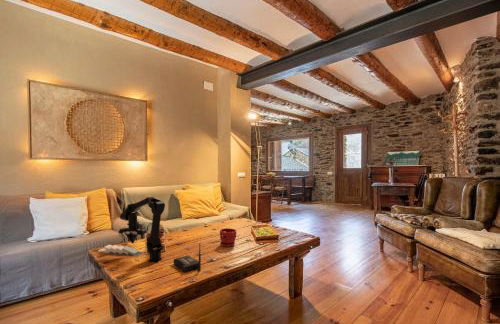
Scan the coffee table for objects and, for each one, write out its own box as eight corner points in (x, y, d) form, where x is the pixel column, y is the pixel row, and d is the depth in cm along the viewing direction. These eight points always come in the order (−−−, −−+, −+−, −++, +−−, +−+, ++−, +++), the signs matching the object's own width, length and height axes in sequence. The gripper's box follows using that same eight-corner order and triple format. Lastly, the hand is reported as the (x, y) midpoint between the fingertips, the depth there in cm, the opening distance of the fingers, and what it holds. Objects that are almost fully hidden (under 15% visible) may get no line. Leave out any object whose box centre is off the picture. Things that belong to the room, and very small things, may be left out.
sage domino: (138, 250, 180) (127, 246, 182) (134, 253, 175) (122, 248, 177) (138, 252, 180) (126, 247, 182) (133, 255, 175) (121, 250, 177)
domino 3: (132, 250, 181) (121, 245, 183) (128, 252, 176) (116, 247, 178) (132, 252, 181) (120, 247, 183) (127, 254, 176) (115, 249, 178)
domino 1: (120, 249, 183) (109, 244, 185) (115, 251, 178) (104, 246, 180) (120, 251, 183) (109, 246, 185) (115, 253, 178) (103, 248, 180)
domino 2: (126, 249, 182) (115, 244, 184) (121, 252, 177) (110, 247, 179) (126, 251, 182) (114, 246, 184) (121, 254, 177) (109, 248, 179)
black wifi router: (171, 265, 160) (171, 238, 160) (190, 260, 169) (191, 234, 169) (185, 276, 145) (185, 247, 145) (206, 270, 154) (206, 242, 154)
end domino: (114, 248, 184) (103, 248, 187) (109, 250, 179) (97, 250, 182) (114, 250, 184) (103, 250, 186) (109, 252, 179) (97, 252, 182)
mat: (144, 253, 181) (144, 252, 181) (136, 257, 173) (136, 256, 173) (114, 250, 187) (114, 249, 187) (105, 254, 178) (105, 253, 178)
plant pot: (228, 248, 191) (228, 233, 191) (216, 245, 199) (216, 230, 199) (239, 244, 201) (239, 229, 201) (227, 241, 209) (227, 227, 209)
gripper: (151, 219, 184) (151, 240, 184) (129, 218, 188) (129, 239, 188) (141, 223, 173) (141, 245, 173) (118, 221, 177) (118, 243, 177)
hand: (132, 243), depth 178 cm, fingers closed
